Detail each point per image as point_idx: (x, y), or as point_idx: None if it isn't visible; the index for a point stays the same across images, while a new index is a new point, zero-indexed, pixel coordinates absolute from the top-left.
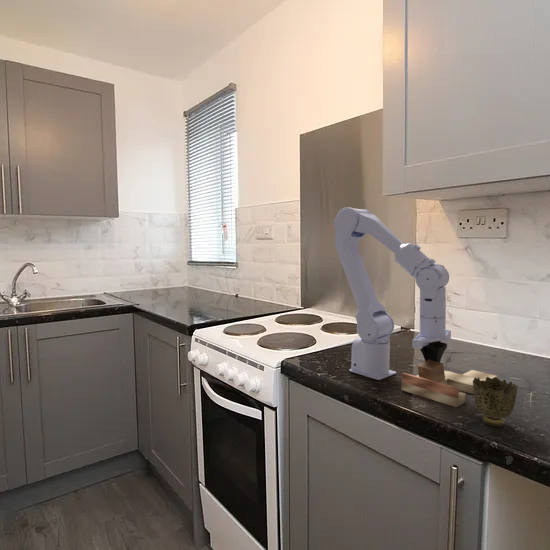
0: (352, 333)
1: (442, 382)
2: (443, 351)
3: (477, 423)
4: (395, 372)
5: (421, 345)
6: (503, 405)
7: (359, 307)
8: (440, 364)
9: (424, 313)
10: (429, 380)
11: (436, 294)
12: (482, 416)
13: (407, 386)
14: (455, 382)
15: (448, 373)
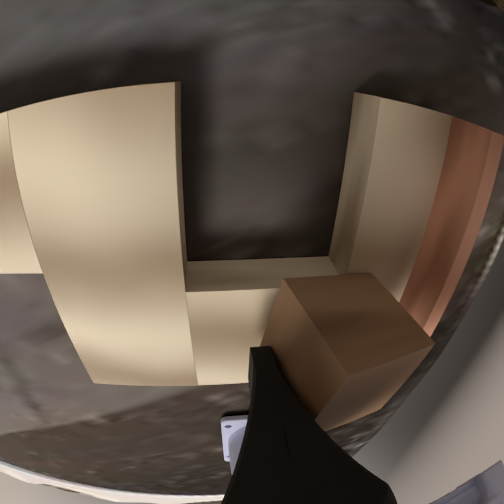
0: (77, 492)
1: (249, 283)
2: (253, 486)
3: (500, 22)
4: (229, 420)
5: (499, 480)
6: None
7: None
8: (363, 374)
9: None
10: (448, 293)
11: None
12: (495, 5)
13: None
14: (181, 238)
15: (96, 324)
